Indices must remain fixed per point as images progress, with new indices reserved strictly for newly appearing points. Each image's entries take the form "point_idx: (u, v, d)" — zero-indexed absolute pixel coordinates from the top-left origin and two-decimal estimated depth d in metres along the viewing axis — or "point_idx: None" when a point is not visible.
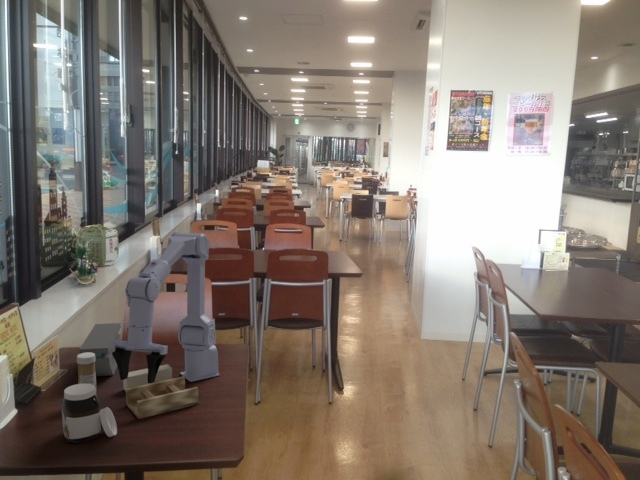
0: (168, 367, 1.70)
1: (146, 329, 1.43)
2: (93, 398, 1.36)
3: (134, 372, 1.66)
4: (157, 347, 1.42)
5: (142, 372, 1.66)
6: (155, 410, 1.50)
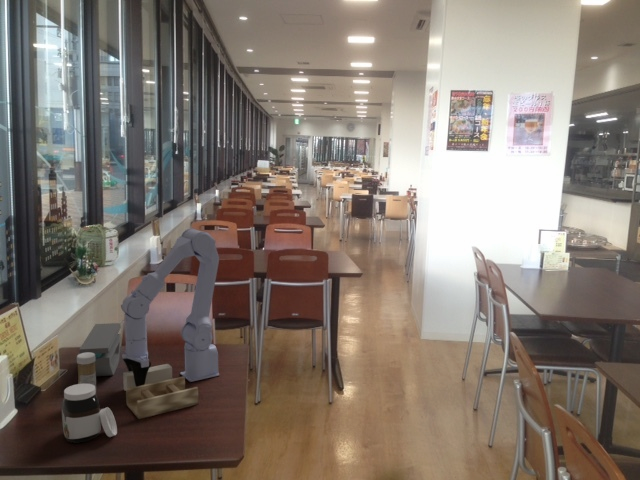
0: (168, 366, 1.70)
1: (134, 342, 1.61)
2: (93, 398, 1.37)
3: None
4: (139, 360, 1.59)
5: None
6: (155, 410, 1.50)
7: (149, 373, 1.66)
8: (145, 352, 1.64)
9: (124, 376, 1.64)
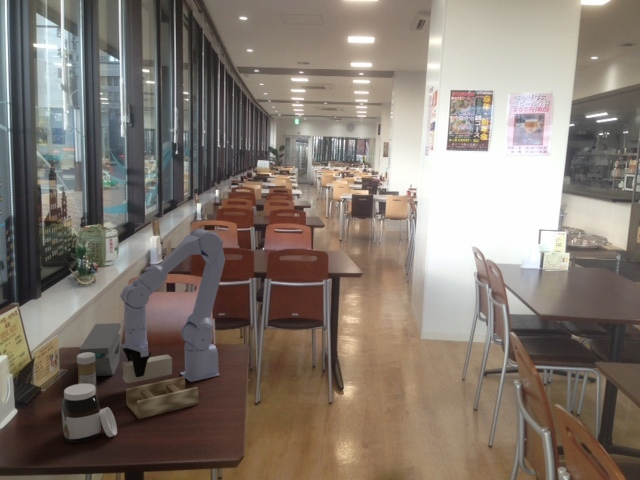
0: (168, 357, 1.69)
1: (133, 332, 1.61)
2: (93, 398, 1.37)
3: None
4: (138, 349, 1.59)
5: None
6: (155, 410, 1.50)
7: (149, 363, 1.65)
8: (145, 342, 1.63)
9: (124, 366, 1.64)
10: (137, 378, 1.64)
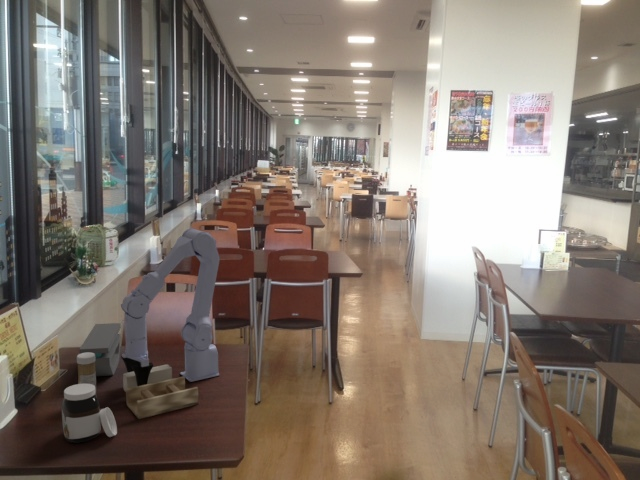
0: (168, 367, 1.70)
1: (134, 342, 1.61)
2: (93, 398, 1.37)
3: None
4: (139, 359, 1.59)
5: None
6: (155, 410, 1.50)
7: None
8: (145, 351, 1.64)
9: (124, 377, 1.64)
10: None
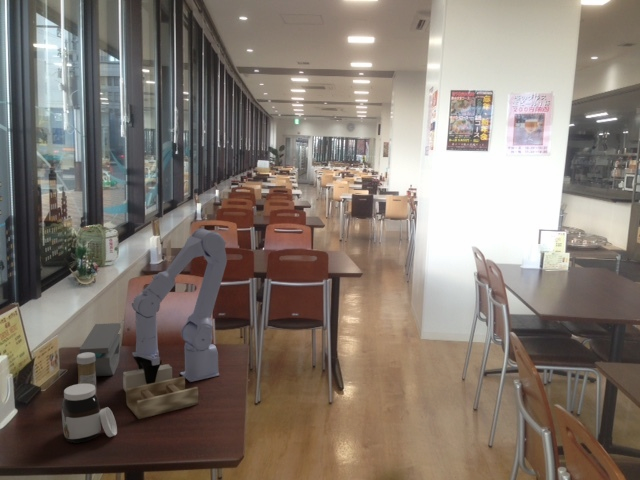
0: (168, 367, 1.69)
1: (145, 340, 1.63)
2: (93, 398, 1.36)
3: (134, 371, 1.66)
4: (150, 358, 1.61)
5: (142, 372, 1.66)
6: (155, 410, 1.50)
7: None
8: (155, 350, 1.65)
9: (124, 376, 1.64)
10: None
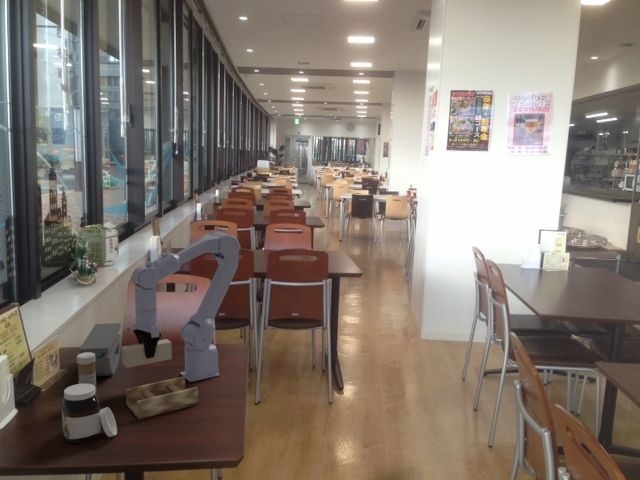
0: (167, 341, 1.68)
1: (144, 313, 1.61)
2: (93, 398, 1.36)
3: (133, 346, 1.64)
4: (149, 330, 1.60)
5: (141, 346, 1.64)
6: (155, 410, 1.50)
7: None
8: (155, 323, 1.64)
9: (123, 350, 1.62)
10: (136, 363, 1.63)
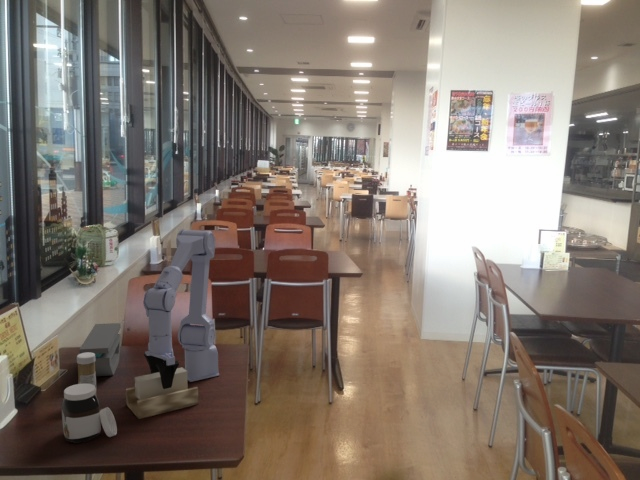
0: (183, 370, 1.57)
1: (158, 338, 1.50)
2: (93, 398, 1.36)
3: (146, 376, 1.53)
4: (164, 357, 1.49)
5: (155, 376, 1.53)
6: (155, 410, 1.50)
7: None
8: (170, 349, 1.53)
9: (136, 381, 1.51)
10: (150, 394, 1.52)
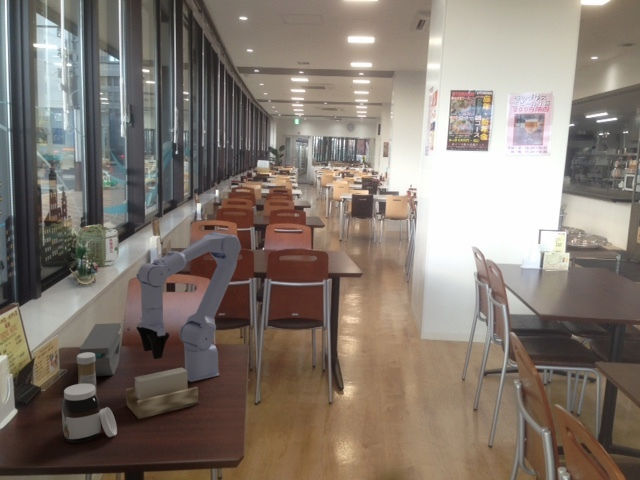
0: (183, 370, 1.57)
1: (150, 311, 1.60)
2: (93, 398, 1.37)
3: (146, 376, 1.53)
4: (155, 328, 1.58)
5: (155, 376, 1.53)
6: (155, 410, 1.50)
7: (162, 377, 1.53)
8: (161, 321, 1.62)
9: (136, 381, 1.51)
10: (150, 394, 1.52)
